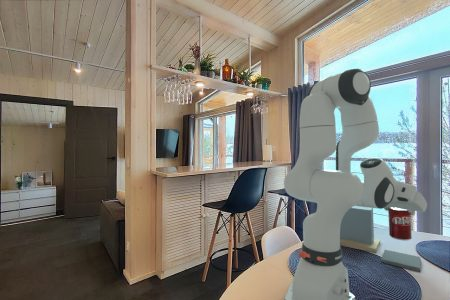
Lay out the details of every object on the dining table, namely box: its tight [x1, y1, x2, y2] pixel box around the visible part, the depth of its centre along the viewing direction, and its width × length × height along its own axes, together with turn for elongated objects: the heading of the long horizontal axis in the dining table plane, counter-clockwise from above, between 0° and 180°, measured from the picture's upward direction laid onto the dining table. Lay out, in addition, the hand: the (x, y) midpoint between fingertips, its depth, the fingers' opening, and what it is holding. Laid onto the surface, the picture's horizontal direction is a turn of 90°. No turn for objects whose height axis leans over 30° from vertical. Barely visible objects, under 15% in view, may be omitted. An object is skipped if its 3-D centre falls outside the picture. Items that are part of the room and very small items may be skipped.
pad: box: [380, 249, 421, 272], centre depth 93 cm, size 12×12×1 cm
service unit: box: [340, 206, 381, 253], centre depth 112 cm, size 14×18×18 cm
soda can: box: [387, 207, 413, 242], centre depth 93 cm, size 7×7×12 cm
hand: (399, 211), depth 94 cm, fingers closed on soda can, 7 cm apart
